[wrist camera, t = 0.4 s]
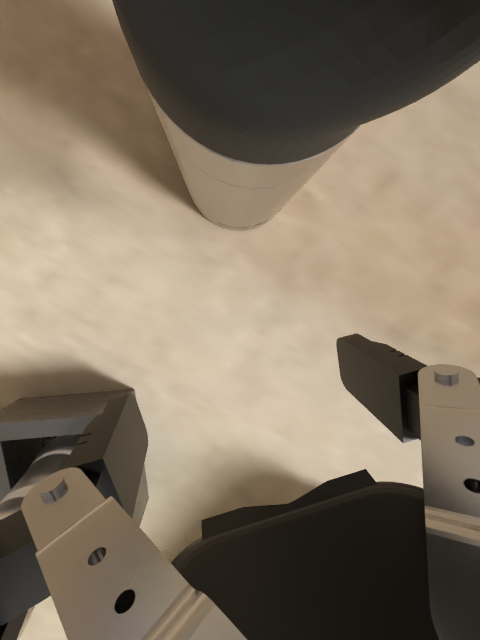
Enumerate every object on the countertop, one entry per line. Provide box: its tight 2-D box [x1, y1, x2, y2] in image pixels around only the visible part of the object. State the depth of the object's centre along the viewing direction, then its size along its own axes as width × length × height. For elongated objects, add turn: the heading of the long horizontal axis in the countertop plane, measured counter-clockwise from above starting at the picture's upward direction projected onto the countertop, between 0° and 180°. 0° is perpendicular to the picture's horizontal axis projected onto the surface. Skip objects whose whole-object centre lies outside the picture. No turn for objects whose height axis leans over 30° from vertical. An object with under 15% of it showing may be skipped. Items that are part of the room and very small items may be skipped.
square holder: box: [0, 390, 149, 527], centre depth 28 cm, size 12×11×5 cm
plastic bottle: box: [0, 434, 82, 640], centre depth 20 cm, size 6×7×20 cm
